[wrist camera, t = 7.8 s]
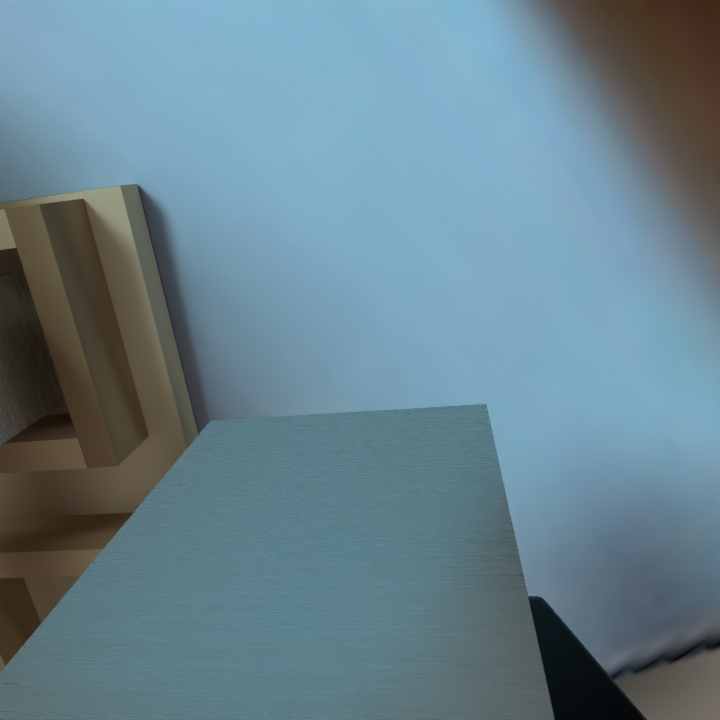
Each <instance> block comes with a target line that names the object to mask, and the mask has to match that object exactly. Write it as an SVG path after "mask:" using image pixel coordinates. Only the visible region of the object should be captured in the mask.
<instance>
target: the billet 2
mask: <svg viewBox="0 0 720 720" xmlns="http://www.w3.org/2000/svg"><path fill="white" fill-rule="evenodd" d="M0 720H555V719H554V714H553V710H552V705H551V700H550V696H549V691H548V686H547V682H546V677H545V673H544V668H543V663H542V659H541V654H540V650H539V645H538V640H537V636H536V631H535V626H534V622H533V617H532V613H531V608H530V603H529V599H528V594H527V590H526V585H525V580H524V576H523V571H522V566H521V562H520V557H519V553H518V548H517V543H516V539H515V534H514V530H513V525H512V520H511V516H510V511H509V506H508V502H507V497H506V493H505V488H504V483H503V479H502V474H501V470H500V465H499V460H498V456H497V451H496V446H495V442H494V437H493V433H492V428H491V423H490V419H489V414H488V410H487V405H486V404H479V405H462V406H446V407H429V408H413V409H396V410H379V411H363V412H346V413H329V414H313V415H296V416H279V417H263V418H246V419H229V420H213V421H210V422H209V423H208V424H207V425H206V427H205V428H204V429H203V430H202V431H201V433H200V434H199V435H198V436H197V437H196V439H195V440H194V441H193V442H192V443H191V445H190V446H189V447H188V448H187V449H186V451H185V452H184V453H183V454H182V455H181V457H180V458H179V459H178V460H177V461H176V463H175V464H174V465H173V466H172V467H171V469H170V470H169V471H168V472H167V473H166V475H165V476H164V477H163V478H162V479H161V481H160V482H159V483H158V484H157V485H156V487H155V488H154V489H153V490H152V491H151V492H150V494H149V495H148V496H147V497H146V498H145V500H144V501H143V502H142V503H141V504H140V506H139V507H138V508H137V509H136V510H135V512H134V513H133V514H132V515H131V516H130V518H129V519H128V520H127V521H126V522H125V524H124V525H123V526H122V527H121V528H120V530H119V531H118V532H117V533H116V534H115V536H114V537H113V538H112V539H111V540H110V542H109V543H108V544H107V545H106V546H105V548H104V549H103V550H102V551H101V552H100V554H99V555H98V556H97V557H96V558H95V560H94V561H93V562H92V563H91V564H90V566H89V567H88V568H87V569H86V570H85V572H84V573H83V574H82V575H81V576H80V578H79V579H78V580H77V581H76V582H75V584H74V585H73V586H72V587H71V588H70V590H69V591H68V592H67V593H66V594H65V596H64V597H63V598H62V599H61V600H60V602H59V603H58V604H57V605H56V606H55V608H54V609H53V610H52V611H51V612H50V614H49V615H48V616H47V617H46V618H45V620H44V621H43V622H42V623H41V624H40V626H39V627H38V628H37V629H36V630H35V632H34V633H33V634H32V635H31V636H30V638H29V639H28V640H27V641H26V642H25V644H24V645H23V646H22V647H21V648H20V650H19V651H18V652H17V653H16V654H15V656H14V657H13V658H12V659H11V660H10V662H9V663H8V664H7V665H6V666H5V668H4V669H3V670H2V671H1V672H0Z"/></svg>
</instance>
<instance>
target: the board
mask: <svg viewBox="0 0 720 720" xmlns="http://www.w3.org/2000/svg"><path fill="white" fill-rule="evenodd" d="M20 270H24V272H25V276H26V279H27V282H28V285H29V288H30V291H31V294H32V297H33V301H34V304H35V307H36V310H37V313H38V316H39V319H40V322H41V326H42V329H43V332H44V335H45V338H46V341H47V344H48V347H49V351H50V354H51V357H52V360H53V363H54V366H55V369H56V372H57V375H58V379H59V382H60V385H61V388H62V391H63V394H64V397H65V400H66V402H64V403H63V404H61V405H60V406H58V407H57V408H55V409H54V410H52V411H51V412H49V413H48V414H46V415H45V416H43V417H42V418H40V419H39V420H37V421H36V422H34V423H33V424H31V425H30V426H28V427H27V428H25V429H24V430H22V431H21V432H20V433H18V434H17V435H15V436H14V437H12V438H11V439H9V440H8V441H6V442H5V443H3V444H2V445H0V672H1V671H2V670H3V669H4V668H5V666H6V665H7V664H8V663H9V662H10V660H11V659H12V658H13V657H14V656H15V654H16V653H17V652H18V651H19V650H20V648H21V647H22V646H23V645H24V644H25V642H26V641H27V640H28V639H29V638H30V636H31V635H32V634H33V633H34V632H35V630H36V629H37V628H38V627H39V626H40V624H41V623H42V622H43V621H44V620H45V618H46V617H47V616H48V615H49V614H50V612H51V611H52V610H53V609H54V608H55V606H56V605H57V604H58V603H59V602H60V600H61V599H62V598H63V597H64V596H65V594H66V593H67V592H68V591H69V590H70V588H71V587H72V586H73V585H74V584H75V582H76V581H77V580H78V579H79V578H80V576H81V575H82V574H83V573H84V572H85V570H86V569H87V568H88V567H89V566H90V564H91V563H92V562H93V561H94V560H95V558H96V557H97V556H98V555H99V554H100V552H101V551H102V550H103V549H104V548H105V546H106V545H107V544H108V543H109V542H110V540H111V539H112V538H113V537H114V536H115V534H116V533H117V532H118V531H119V530H120V528H121V527H122V526H123V525H124V524H125V522H126V521H127V520H128V519H129V518H130V516H131V515H132V514H133V513H134V512H135V510H136V509H137V508H138V507H139V506H140V504H141V503H142V502H143V501H144V500H145V498H146V497H147V496H148V495H149V494H150V492H151V491H152V490H153V489H154V488H155V487H156V485H157V484H158V483H159V482H160V481H161V479H162V478H163V477H164V476H165V475H166V473H167V472H168V471H169V470H170V469H171V467H172V466H173V465H174V464H175V463H176V461H177V460H178V459H179V458H180V457H181V455H182V454H183V453H184V452H185V451H186V449H187V448H188V447H189V446H190V445H191V443H192V442H193V441H194V440H195V439H196V437H197V436H198V431H197V426H196V422H195V418H194V414H193V410H192V406H191V402H190V398H189V394H188V390H187V386H186V382H185V378H184V373H183V369H182V365H181V361H180V357H179V353H178V349H177V345H176V341H175V337H174V333H173V329H172V324H171V320H170V316H169V312H168V308H167V304H166V300H165V296H164V292H163V288H162V284H161V280H160V275H159V271H158V267H157V263H156V259H155V255H154V251H153V247H152V243H151V239H150V235H149V231H148V226H147V222H146V218H145V214H144V210H143V206H142V202H141V198H140V194H139V190H138V186H137V184H134V185H124V186H116V187H109V188H101V189H94V190H87V191H80V192H73V193H66V194H59V195H52V196H45V197H38V198H31V199H24V200H17V201H10V202H3V203H0V273H4V272H12V271H20Z"/></svg>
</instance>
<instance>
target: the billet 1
mask: <svg viewBox="0 0 720 720" xmlns="http://www.w3.org/2000/svg"><path fill="white" fill-rule="evenodd" d="M64 402H66V400H65V397H64V394H63V391H62V388H61V385H60V382H59V379H58V375H57V372H56V369H55V366H54V363H53V360H52V357H51V354H50V351H49V347H48V344H47V341H46V338H45V335H44V332H43V329H42V326H41V322H40V319H39V316H38V313H37V310H36V307H35V304H34V301H33V297H32V294H31V291H30V288H29V285H28V282H27V279H26V276H25V272H24V270H20V271H12V272H4V273H0V445H2V444H3V443H5V442H6V441H8V440H9V439H11V438H12V437H14V436H15V435H17V434H18V433H20V432H21V431H22V430H24V429H25V428H27V427H28V426H30V425H31V424H33V423H34V422H36V421H37V420H39V419H40V418H42V417H43V416H45V415H46V414H48V413H49V412H51V411H52V410H54V409H55V408H57V407H58V406H60V405H61V404H63V403H64Z"/></svg>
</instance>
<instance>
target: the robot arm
mask: <svg viewBox="0 0 720 720" xmlns="http://www.w3.org/2000/svg"><path fill="white" fill-rule="evenodd" d="M528 599H529V603H530V608H531V613H532V617H533V622H534V626H535V631H536V636H537V640H538V645H539V650H540V654H541V659H542V663H543V668H544V673H545V677H546V682H547V686H548V691H549V696H550V700H551V705H552V710H553V714H554V719H555V720H647V719H646V718H645V717H644V716H643V715H642V713H641V712H640V711H639V710H638V709H637V708H636V706H635V705H634V704H633V703H632V702H631V701H630V699H629V698H628V697H627V696H626V695H625V694H624V692H623V691H622V690H621V689H620V688H619V687H618V685H617V684H616V683H615V682H614V681H613V679H612V678H611V677H610V676H609V675H608V674H607V672H606V671H605V670H604V669H603V668H602V667H601V665H600V664H599V663H598V662H597V661H596V660H595V658H594V657H593V656H592V655H591V654H590V652H589V651H588V650H587V649H586V648H585V647H584V645H583V644H582V643H581V642H580V641H579V640H578V638H577V637H576V636H575V635H574V634H573V633H572V631H571V630H570V629H569V628H568V627H567V626H566V624H565V623H564V622H563V621H562V620H561V618H560V617H559V616H558V615H557V614H556V613H555V611H554V610H553V609H552V608H551V607H550V606H549V604H548V603H547V602H546V601H545V600H544V599H543V598H541V597H538V596H528Z"/></svg>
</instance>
